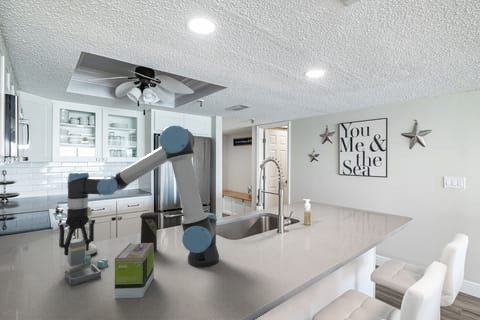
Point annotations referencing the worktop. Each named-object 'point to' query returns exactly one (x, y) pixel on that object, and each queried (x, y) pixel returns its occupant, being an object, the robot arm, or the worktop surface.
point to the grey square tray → (83, 275)
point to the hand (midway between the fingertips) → (76, 260)
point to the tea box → (134, 270)
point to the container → (149, 228)
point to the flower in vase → (91, 247)
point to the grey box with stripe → (77, 251)
